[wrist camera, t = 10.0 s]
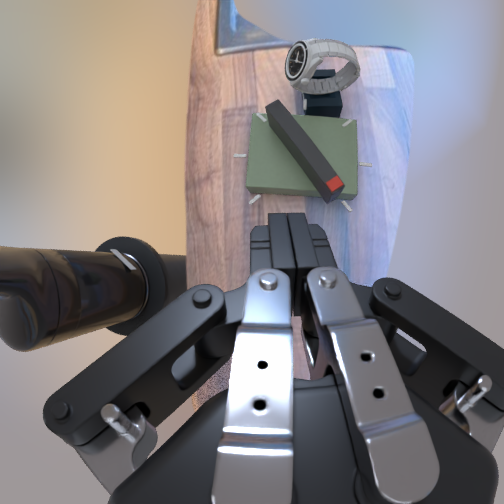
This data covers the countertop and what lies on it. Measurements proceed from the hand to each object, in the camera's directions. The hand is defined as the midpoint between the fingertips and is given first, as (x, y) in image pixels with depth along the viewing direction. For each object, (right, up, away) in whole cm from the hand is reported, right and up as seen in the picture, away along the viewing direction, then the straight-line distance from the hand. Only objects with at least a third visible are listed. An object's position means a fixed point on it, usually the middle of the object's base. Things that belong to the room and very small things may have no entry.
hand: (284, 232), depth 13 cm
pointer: (+4, +9, +18) cm, 21 cm away
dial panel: (+5, +10, +21) cm, 24 cm away
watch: (+7, +18, +21) cm, 29 cm away
